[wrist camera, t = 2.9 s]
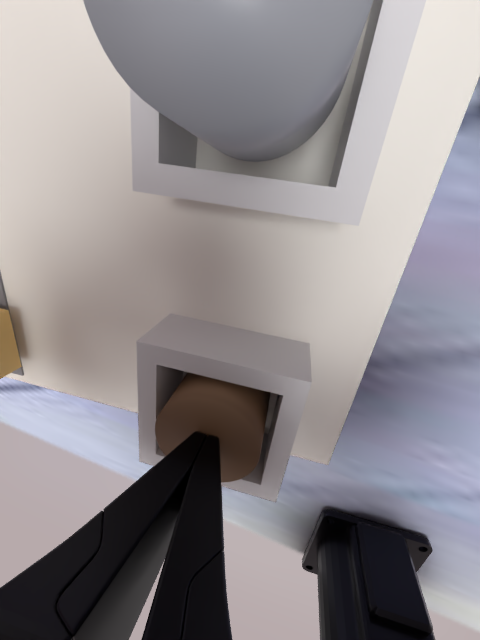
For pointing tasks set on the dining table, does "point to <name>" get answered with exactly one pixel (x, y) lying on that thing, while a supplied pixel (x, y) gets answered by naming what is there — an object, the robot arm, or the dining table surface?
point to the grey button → (235, 65)
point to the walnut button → (216, 421)
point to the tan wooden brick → (7, 346)
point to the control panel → (217, 225)
